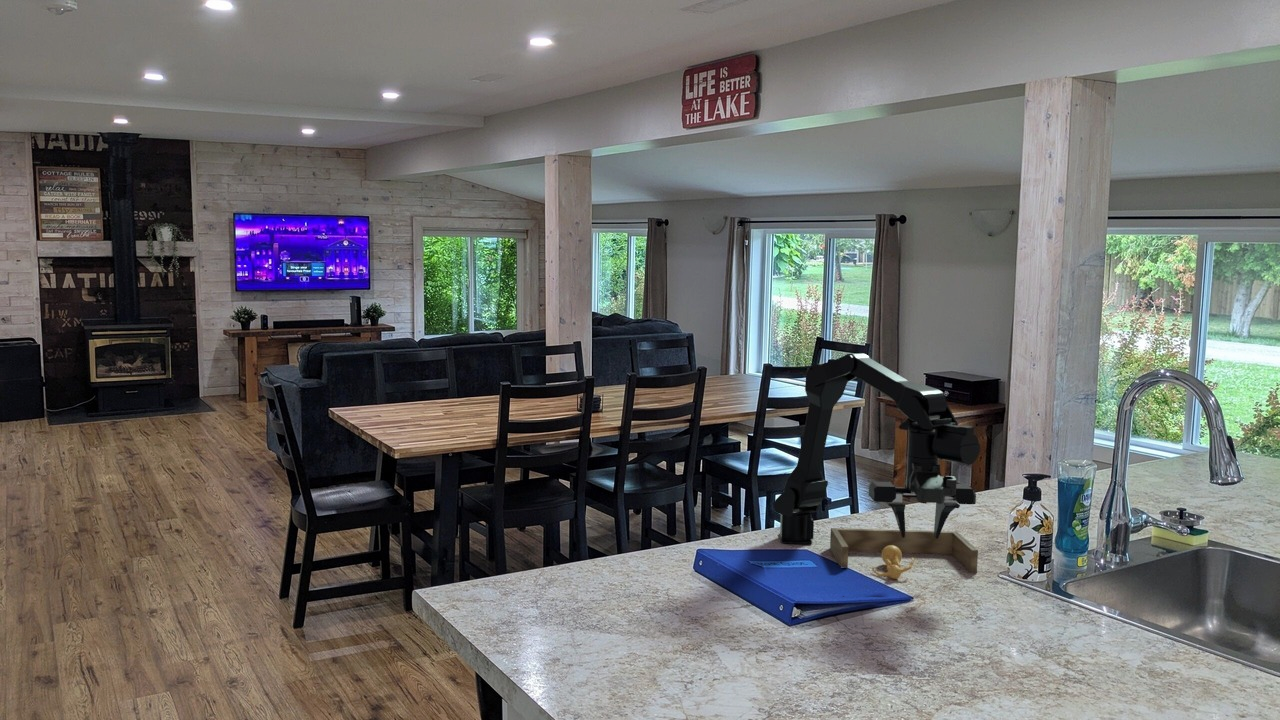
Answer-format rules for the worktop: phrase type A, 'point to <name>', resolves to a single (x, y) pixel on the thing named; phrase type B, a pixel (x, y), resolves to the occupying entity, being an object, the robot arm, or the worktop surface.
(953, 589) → the worktop surface
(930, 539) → the three-sided wooden wall
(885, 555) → the figurine
